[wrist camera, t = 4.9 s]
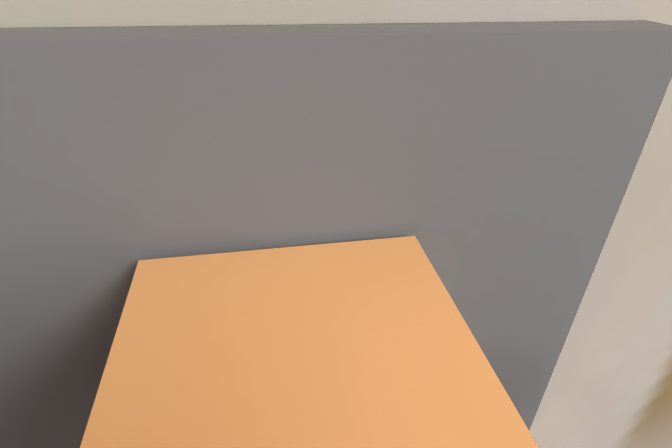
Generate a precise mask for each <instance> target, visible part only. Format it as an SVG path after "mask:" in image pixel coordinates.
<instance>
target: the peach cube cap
mask: <svg viewBox="0 0 672 448" xmlns="http://www.w3.org/2000/svg"><path fill="white" fill-rule="evenodd" d="M80 448H539V447H538V445H537V443H536V442H535V440H534V438H533V437H532V435H531V433H530V432H529V430H528V428H527V426H526V425H525V423H524V421H523V420H522V418H521V416H520V414H519V413H518V411H517V409H516V408H515V406H514V404H513V402H512V401H511V399H510V397H509V396H508V394H507V392H506V391H505V389H504V387H503V385H502V384H501V382H500V380H499V379H498V377H497V375H496V373H495V372H494V370H493V368H492V367H491V365H490V363H489V361H488V360H487V358H486V356H485V355H484V353H483V351H482V350H481V348H480V346H479V344H478V343H477V341H476V339H475V338H474V336H473V334H472V332H471V331H470V329H469V327H468V326H467V324H466V322H465V320H464V319H463V317H462V315H461V314H460V312H459V310H458V309H457V307H456V305H455V303H454V302H453V300H452V298H451V297H450V295H449V293H448V291H447V290H446V288H445V286H444V285H443V283H442V281H441V279H440V278H439V276H438V274H437V273H436V271H435V269H434V267H433V266H432V264H431V262H430V261H429V259H428V257H427V256H426V254H425V252H424V250H423V249H422V247H421V245H420V244H419V242H418V240H417V238H416V237H415V236H407V237H395V238H384V239H373V240H362V241H350V242H339V243H328V244H317V245H305V246H294V247H283V248H272V249H261V250H249V251H238V252H227V253H216V254H204V255H193V256H182V257H171V258H159V259H148V260H139V261H138V264H137V267H136V270H135V273H134V276H133V280H132V283H131V286H130V289H129V292H128V296H127V299H126V302H125V305H124V308H123V312H122V315H121V318H120V321H119V324H118V328H117V331H116V334H115V337H114V340H113V343H112V347H111V350H110V353H109V356H108V359H107V363H106V366H105V369H104V372H103V375H102V379H101V382H100V385H99V388H98V391H97V394H96V398H95V401H94V404H93V407H92V410H91V414H90V417H89V420H88V423H87V426H86V430H85V433H84V436H83V439H82V442H81V446H80Z"/></svg>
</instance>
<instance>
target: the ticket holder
mask: <svg viewBox="0 0 672 448" xmlns="http://www.w3.org/2000/svg"><path fill="white" fill-rule="evenodd" d="M671 77H672V26H671V25H666V24H661V23H656V22H651V21H647V20H642V21H557V22H472V23H388V24H303V25H218V26H133V27H49V28H0V448H80V446H81V442H82V439H83V436H84V433H85V430H86V426H87V423H88V420H89V417H90V414H91V410H92V407H93V404H94V401H95V398H96V394H97V391H98V388H99V385H100V382H101V379H102V375H103V372H104V369H105V366H106V363H107V359H108V356H109V353H110V350H111V347H112V343H113V340H114V337H115V334H116V331H117V328H118V324H119V321H120V318H121V315H122V312H123V308H124V305H125V302H126V299H127V296H128V292H129V289H130V286H131V283H132V280H133V276H134V273H135V270H136V267H137V264H138V261H139V260H148V259H159V258H171V257H182V256H193V255H204V254H216V253H227V252H238V251H249V250H261V249H272V248H283V247H294V246H305V245H317V244H328V243H339V242H350V241H362V240H373V239H384V238H395V237H407V236H415V237H416V238H417V240H418V242H419V244H420V245H421V247H422V249H423V250H424V252H425V254H426V256H427V257H428V259H429V261H430V262H431V264H432V266H433V267H434V269H435V271H436V273H437V274H438V276H439V278H440V279H441V281H442V283H443V285H444V286H445V288H446V290H447V291H448V293H449V295H450V297H451V298H452V300H453V302H454V303H455V305H456V307H457V309H458V310H459V312H460V314H461V315H462V317H463V319H464V320H465V322H466V324H467V326H468V327H469V329H470V331H471V332H472V334H473V336H474V338H475V339H476V341H477V343H478V344H479V346H480V348H481V350H482V351H483V353H484V355H485V356H486V358H487V360H488V361H489V363H490V365H491V367H492V368H493V370H494V372H495V373H496V375H497V377H498V379H499V380H500V382H501V384H502V385H503V387H504V389H505V391H506V392H507V394H508V396H509V397H510V399H511V401H512V402H513V404H514V406H515V408H516V409H517V411H518V413H519V414H520V416H521V418H522V420H523V421H524V423H525V425H526V426H527V428H528V430H529V429H530V427H531V424H532V422H533V420H534V417H535V415H536V412H537V410H538V407H539V405H540V402H541V400H542V397H543V395H544V392H545V390H546V387H547V385H548V382H549V380H550V377H551V375H552V372H553V370H554V367H555V365H556V362H557V360H558V358H559V355H560V353H561V350H562V348H563V345H564V343H565V340H566V338H567V335H568V333H569V330H570V328H571V325H572V323H573V320H574V318H575V315H576V313H577V310H578V308H579V305H580V303H581V300H582V298H583V296H584V293H585V291H586V288H587V286H588V283H589V281H590V278H591V276H592V273H593V271H594V268H595V266H596V263H597V261H598V258H599V256H600V253H601V251H602V248H603V246H604V243H605V241H606V239H607V236H608V234H609V231H610V229H611V226H612V224H613V221H614V219H615V216H616V214H617V211H618V209H619V206H620V204H621V201H622V199H623V196H624V194H625V191H626V189H627V186H628V184H629V181H630V179H631V177H632V174H633V172H634V169H635V167H636V164H637V162H638V159H639V157H640V154H641V152H642V149H643V147H644V144H645V142H646V139H647V137H648V134H649V132H650V129H651V127H652V124H653V122H654V119H655V117H656V115H657V112H658V110H659V107H660V105H661V102H662V100H663V97H664V95H665V92H666V90H667V87H668V85H669V82H670V80H671Z"/></svg>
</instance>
